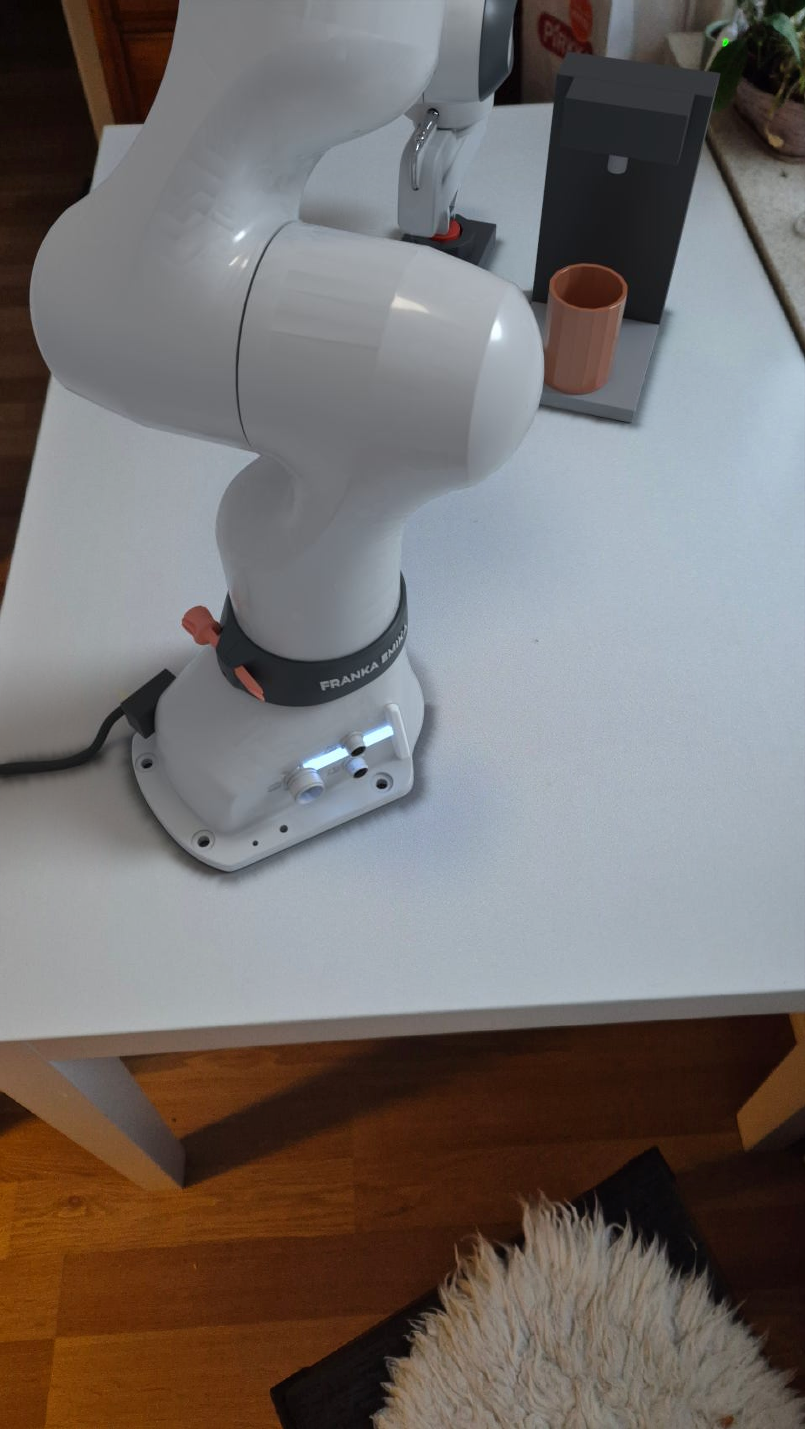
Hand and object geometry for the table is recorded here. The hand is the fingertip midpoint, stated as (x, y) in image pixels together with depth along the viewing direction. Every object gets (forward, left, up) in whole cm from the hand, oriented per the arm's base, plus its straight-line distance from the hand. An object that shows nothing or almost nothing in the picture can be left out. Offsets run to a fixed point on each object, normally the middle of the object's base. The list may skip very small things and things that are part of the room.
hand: (443, 226), depth 104 cm
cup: (-2, -23, -3) cm, 23 cm away
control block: (0, 0, -4) cm, 4 cm away
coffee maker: (+2, -20, -4) cm, 21 cm away
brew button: (0, 0, -2) cm, 2 cm away
